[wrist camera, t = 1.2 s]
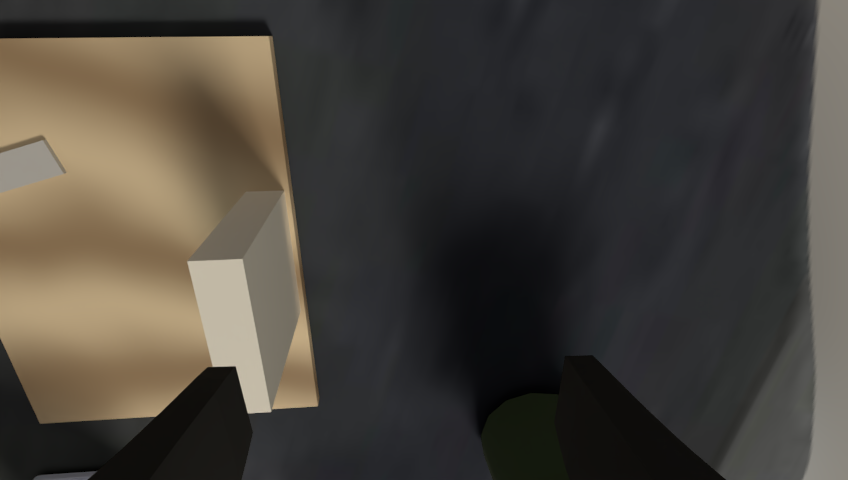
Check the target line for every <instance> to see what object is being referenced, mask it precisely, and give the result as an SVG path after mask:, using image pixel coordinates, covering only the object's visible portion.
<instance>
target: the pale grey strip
mask: <svg viewBox="0 0 848 480" xmlns="http://www.w3.org/2000/svg"><path fill="white" fill-rule="evenodd" d="M65 173H67V172H66V170H65V169H64V167H63V165H62V164H61V162H60V161H59V159H58V157H57V156H56V154H55V153H54V151H53V150H52V148H51V146H50V145H49V143H48V142H47V140H46V139H45V140H42V141H38V142H35V143H32V144H28V145H25V146H22V147H19V148H15V149H12V150H9V151H5V152H2V153H0V193H2V192H5V191H9V190H12V189H15V188H19V187H22V186H25V185H29V184H32V183H35V182H39V181H42V180H45V179H49V178H52V177H55V176H59V175H62V174H65Z"/></svg>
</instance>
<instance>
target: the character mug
mask: <svg viewBox="0 0 848 480" xmlns="http://www.w3.org/2000/svg"><path fill="white" fill-rule="evenodd" d="M558 396H559V395H557V394H542V393H529V394H526V395H523V396H519V397H516V398H513V399H509V400H506V401H505V402H504V403H503V404H502V405H500V406H499V407H498V408H497V409H496V410H495V411H494V412H492V413H491V414H490V415H489V416H488V418H487V421H486V424H485V426H484V429H483V431H482V434H481V440H482V446H483V452H484V456H485V459H486V462H487V465H488V467H489V470H490V473H491V476H492V479H493V480H570V479H569V477H568V474H567V471H566V468H565V464H564V460H563V457H562V453H561V449H560V445H559V441H558V436H557V432H556V428H555V424H554V420H555V414H556V408H557V402H558Z"/></svg>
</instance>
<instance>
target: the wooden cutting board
mask: <svg viewBox="0 0 848 480" xmlns="http://www.w3.org/2000/svg"><path fill="white" fill-rule="evenodd" d="M45 139H46V140H47V142H48V143H49V145H50V146H51V148H52V150H53V151H54V153H55V154H56V156H57V157H58V159H59V161H60V162H61V164H62V165H63V167H64V169H65V170H66V172H67V173H65V174H62V175H59V176H55V177H52V178H49V179H45V180H42V181H39V182H35V183H32V184H29V185H25V186H22V187H19V188H15V189H12V190H9V191H5V192H2V193H0V339H1V341H2V343H3V345H4V347H5V349H6V352H7V354H8V356H9V358H10V360H11V362H12V364H13V367H14V369H15V371H16V373H17V375H18V377H19V380H20V382H21V384H22V386H23V388H24V390H25V393H26V395H27V397H28V399H29V401H30V403H31V406H32V408H33V410H34V412H35V414H36V416H37V419H38V421H39V423H40V424H43V423H59V422H75V421H91V420H107V419H123V418H139V417H154V416H157V415H158V414H159V413H161V412H162V411H163V410H164V409H165V408H166V407H167V406H168V405H169V404H170V403H171V402H172V401H173V400H174V399H175V398H176V397H177V396H178V395H179V394H180V393H181V392H182V391H183V390H184V389H185V388H186V387H187V386H188V385H189V384H190V383H191V382H192V381H193V380H194V379H195V378H196V377H197V376H198V375H200V374H201V373H202V372H203V371H204V370H205V369H206V368H207V367H213V366H212V362H211V358H210V353H209V349H208V345H207V341H206V337H205V333H204V329H203V325H202V321H201V316H200V312H199V308H198V304H197V300H196V296H195V292H194V288H193V283H192V279H191V275H190V271H189V267H188V263H187V261H188V260H189V259H190V257H191V256H192V255H193V254H194V253H195V251H196V250H197V249H198V248H199V247H200V245H201V244H202V243H203V242H204V241H205V240H206V238H207V237H208V236H209V235H210V234H211V232H212V231H213V230H214V229H215V228H216V226H217V225H218V224H219V223H220V222H221V221H222V219H223V218H224V217H225V216H226V215H227V213H228V212H229V211H230V210H231V209H232V208H233V206H234V205H235V204H236V203H237V202H238V200H239V199H240V198H241V197H242V196H243V194H244V193H245V192H251V191H282V190H284V191H285V198H286V205H287V213H288V220H289V227H290V235H291V242H292V249H293V257H294V264H295V271H296V279H297V286H298V293H299V300H300V308H301V312H300V315H299V319H298V322H297V325H296V329H295V332H294V336H293V339H292V342H291V346H290V349H289V353H288V356H287V359H286V363H285V366H284V370H283V373H282V377H281V380H280V383H279V387H278V390H277V394H276V397H275V400H274V404H273V407H272V409H282V408H297V407H313V406H318V402H319V392H318V385H317V377H316V369H315V361H314V354H313V346H312V338H311V331H310V323H309V315H308V307H307V300H306V292H305V284H304V277H303V269H302V261H301V253H300V246H299V238H298V230H297V223H296V215H295V207H294V199H293V192H292V184H291V176H290V169H289V161H288V153H287V145H286V138H285V130H284V122H283V115H282V107H281V99H280V91H279V84H278V76H277V68H276V61H275V53H274V45H273V37H272V36H210V37H102V38H0V153H2V152H5V151H9V150H12V149H15V148H19V147H22V146H25V145H28V144H32V143H35V142H38V141H42V140H45Z"/></svg>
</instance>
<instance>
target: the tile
mask: <svg viewBox="0 0 848 480" xmlns="http://www.w3.org/2000/svg"><path fill="white" fill-rule="evenodd" d="M187 263H188V267H189V271H190V275H191V279H192V283H193V288H194V292H195V296H196V300H197V304H198V308H199V312H200V316H201V321H202V325H203V329H204V333H205V337H206V341H207V345H208V349H209V353H210V358H211V362H212V366H213V367H227V366H236V370H237V374H238V377H239V381H240V385H241V389H242V393H243V397H244V401H245V404H246V408H247V412H248V413H261V412H271V411H272V407H273V404H274V400H275V397H276V394H277V390H278V387H279V383H280V380H281V377H282V373H283V370H284V366H285V363H286V359H287V356H288V353H289V349H290V346H291V342H292V339H293V336H294V332H295V329H296V325H297V322H298V319H299V315H300V312H301V308H300V300H299V293H298V286H297V279H296V271H295V264H294V257H293V249H292V242H291V235H290V227H289V220H288V213H287V205H286V198H285V191H284V190H282V191H251V192H245V193H244V194H243V196H242V197H241V198H240V199H239V200H238V202H237V203H236V204H235V205H234V206H233V208H232V209H231V210H230V211H229V212H228V213H227V215H226V216H225V217H224V218H223V219H222V221H221V222H220V223H219V224H218V225H217V226H216V228H215V229H214V230H213V231H212V232H211V234H210V235H209V236H208V237H207V238H206V240H205V241H204V242H203V243H202V244H201V245H200V247H199V248H198V249H197V250H196V251H195V253H194V254H193V255H192V256H191V257H190V259H189V260H188V261H187Z"/></svg>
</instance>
